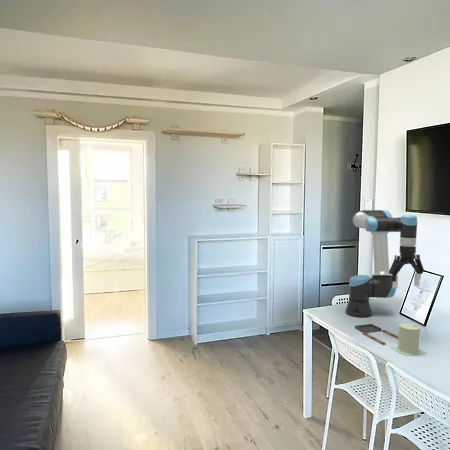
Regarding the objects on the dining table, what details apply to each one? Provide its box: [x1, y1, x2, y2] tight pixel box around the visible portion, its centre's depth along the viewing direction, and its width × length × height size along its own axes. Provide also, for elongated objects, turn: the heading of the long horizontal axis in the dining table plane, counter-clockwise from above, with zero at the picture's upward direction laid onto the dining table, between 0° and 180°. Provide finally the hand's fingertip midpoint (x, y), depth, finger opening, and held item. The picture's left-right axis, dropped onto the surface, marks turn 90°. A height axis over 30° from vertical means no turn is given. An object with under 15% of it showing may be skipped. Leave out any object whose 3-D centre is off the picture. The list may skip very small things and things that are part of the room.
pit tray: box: [354, 323, 382, 334], centre depth 217 cm, size 8×11×1 cm
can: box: [397, 322, 421, 355], centre depth 188 cm, size 9×9×12 cm
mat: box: [390, 345, 428, 357], centre depth 189 cm, size 10×12×1 cm
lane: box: [361, 329, 399, 346], centre depth 205 cm, size 16×14×1 cm
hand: (406, 286), depth 203 cm, fingers open, 13 cm apart
